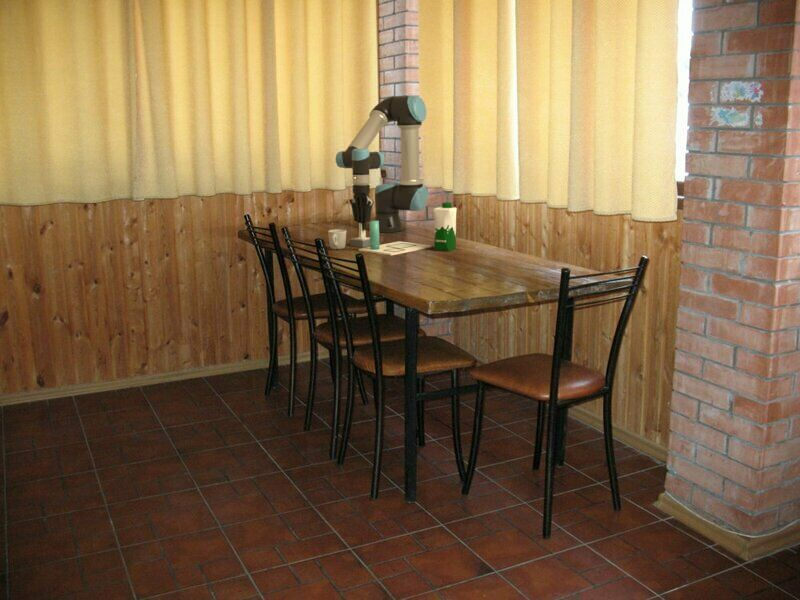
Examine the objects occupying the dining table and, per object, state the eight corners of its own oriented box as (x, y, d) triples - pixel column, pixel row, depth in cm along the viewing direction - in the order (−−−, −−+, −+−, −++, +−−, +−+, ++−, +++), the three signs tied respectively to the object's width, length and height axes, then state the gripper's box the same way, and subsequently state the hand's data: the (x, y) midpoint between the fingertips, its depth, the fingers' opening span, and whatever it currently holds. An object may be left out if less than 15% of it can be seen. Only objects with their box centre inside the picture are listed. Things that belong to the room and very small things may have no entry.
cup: (342, 251, 375) (341, 233, 373) (324, 251, 376) (324, 232, 374) (348, 247, 385) (348, 229, 383) (331, 247, 387) (330, 229, 385)
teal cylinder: (374, 247, 378) (373, 220, 375) (381, 248, 375) (380, 221, 373) (368, 249, 375) (367, 221, 372) (375, 250, 373) (374, 222, 370)
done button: (362, 243, 393) (362, 236, 392) (371, 244, 390) (371, 237, 389) (354, 244, 389) (353, 238, 388) (362, 245, 386) (362, 239, 385)
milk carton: (458, 248, 378) (458, 202, 373) (449, 252, 370) (449, 205, 366) (440, 247, 382) (440, 201, 377) (431, 250, 374) (431, 204, 370)
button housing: (362, 243, 395) (362, 236, 394) (375, 245, 390) (375, 238, 389) (349, 245, 389) (349, 239, 389) (362, 247, 384) (362, 240, 383)
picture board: (399, 243, 395) (399, 240, 394) (431, 247, 382) (431, 245, 382) (358, 250, 376) (358, 248, 376) (391, 255, 364) (391, 253, 363)
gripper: (344, 184, 385) (346, 237, 390) (365, 185, 376) (366, 239, 382) (356, 182, 390) (357, 235, 396) (377, 184, 382) (378, 237, 387)
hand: (362, 237), depth 389 cm, fingers closed
